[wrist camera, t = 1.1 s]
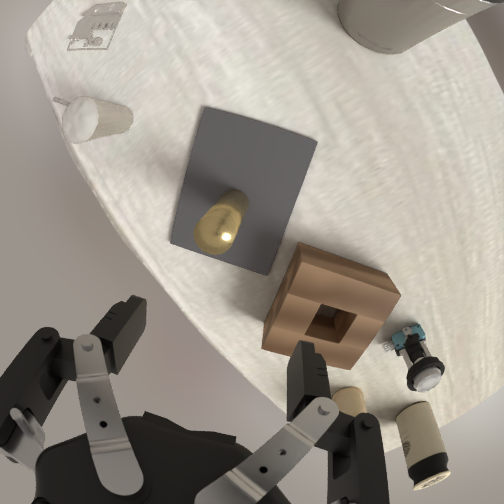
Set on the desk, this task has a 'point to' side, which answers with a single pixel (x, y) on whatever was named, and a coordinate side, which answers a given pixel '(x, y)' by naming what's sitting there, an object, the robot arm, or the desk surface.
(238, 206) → the pin
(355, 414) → the candle
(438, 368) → the push button
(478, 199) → the desk surface
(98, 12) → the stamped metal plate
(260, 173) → the mat
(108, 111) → the milkshake
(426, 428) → the travel mug
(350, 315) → the socket block
